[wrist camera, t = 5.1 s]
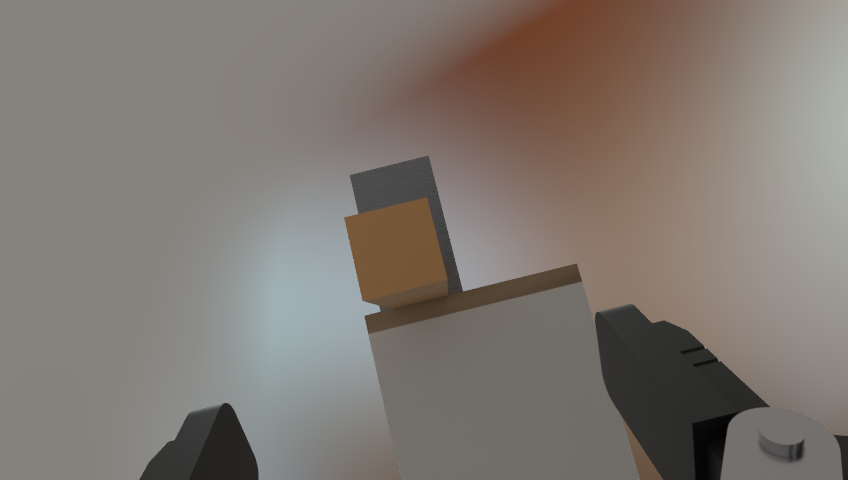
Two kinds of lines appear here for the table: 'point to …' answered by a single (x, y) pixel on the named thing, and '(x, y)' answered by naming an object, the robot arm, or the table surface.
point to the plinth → (500, 385)
